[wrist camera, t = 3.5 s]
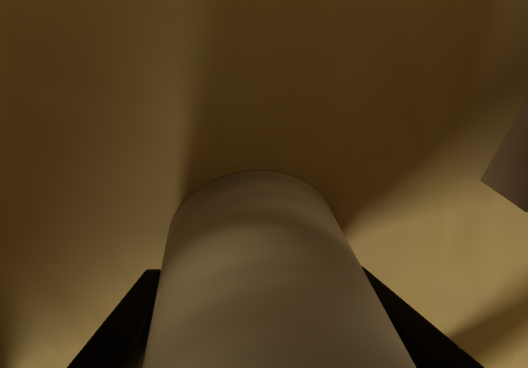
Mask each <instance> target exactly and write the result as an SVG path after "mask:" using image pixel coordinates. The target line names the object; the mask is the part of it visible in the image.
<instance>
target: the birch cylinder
mask: <svg viewBox="0 0 528 368" xmlns="http://www.w3.org/2000/svg"><path fill="white" fill-rule="evenodd" d="M142 368H416V366H415V365H414V363H413V361H412V359H411V357H410V355H409V354H408V352H407V350H406V348H405V346H404V344H403V342H402V341H401V339H400V337H399V335H398V333H397V331H396V330H395V328H394V326H393V324H392V322H391V320H390V319H389V317H388V315H387V313H386V311H385V309H384V307H383V306H382V304H381V302H380V300H379V298H378V296H377V295H376V293H375V291H374V289H373V287H372V285H371V283H370V282H369V280H368V278H367V276H366V274H365V272H364V271H363V269H362V267H361V265H360V263H359V261H358V260H357V258H356V256H355V254H354V252H353V250H352V248H351V247H350V245H349V243H348V241H347V239H346V237H345V236H344V234H343V232H342V230H341V228H340V226H339V224H338V223H337V221H336V219H335V217H334V215H333V213H332V212H331V210H330V208H329V206H328V204H327V203H326V201H325V200H324V198H323V197H322V196H321V195H320V194H319V193H318V192H317V191H316V190H315V189H314V188H313V187H312V186H310V185H309V184H307V183H306V182H304V181H302V180H300V179H298V178H296V177H293V176H290V175H287V174H283V173H279V172H273V171H246V172H238V173H234V174H230V175H226V176H224V177H221V178H218V179H216V180H213V181H212V182H210V183H208V184H206V185H204V186H202V187H201V188H199V189H198V190H196V191H195V192H194V193H193V194H191V195H190V196H189V197H188V198H187V199H186V200H185V201H184V202H183V203H182V205H181V206H180V207H179V208H178V210H177V212H176V213H175V215H174V217H173V219H172V221H171V224H170V227H169V232H168V237H167V242H166V247H165V252H164V257H163V263H162V268H161V273H160V278H159V283H158V289H157V294H156V299H155V304H154V309H153V314H152V319H151V325H150V330H149V335H148V340H147V345H146V351H145V356H144V361H143V366H142Z"/></svg>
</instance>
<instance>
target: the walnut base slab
mask: <svg viewBox="0 0 528 368" xmlns="http://www.w3.org/2000/svg"><path fill="white" fill-rule="evenodd" d="M481 181H482V182H483V183H485V184H486V185H488V186H489V187H491V188H492V189H493V190H495V191H496V192H498V193H499V194H501V195H502V196H504V197H505V198H506V199H508V200H509V201H511V202H512V203H514V204H515V205H516V206H518V207H519V208H521V209H522V210H524V211H525V212H528V98H527V99H526V101H525V103H524V105H523V106H522V108H521V110H520V112H519V113H518V115H517V117H516V119H515V121H514V122H513V124H512V126H511V128H510V129H509V131H508V133H507V135H506V136H505V138H504V140H503V142H502V143H501V145H500V147H499V149H498V150H497V152H496V154H495V156H494V157H493V159H492V161H491V163H490V164H489V166H488V168H487V170H486V171H485V173H484V175H483V177H482V178H481Z"/></svg>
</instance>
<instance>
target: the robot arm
mask: <svg viewBox="0 0 528 368" xmlns="http://www.w3.org/2000/svg"><path fill="white" fill-rule="evenodd" d="M361 267H362V266H361ZM362 269H363V271H364V272H365V274H366V276H367V278H368V280H369V282H370V283H371V285H372V287H373V289H374V291H375V293H376V295H377V296H378V298H379V300H380V302H381V304H382V306H383V307H384V309H385V311H386V313H387V315H388V317H389V319H390V320H391V322H392V324H393V326H394V328H395V330H396V331H397V333H398V335H399V337H400V339H401V341H402V342H403V344H404V346H405V348H406V350H407V352H408V354H409V355H410V357H411V359H412V361H413V363H414V365H415V366H416V368H484V367H483V366H482V365H481V364H479V363H478V362H477V361H476V360H475V359H473V358H472V357H471V356H470V355H468V354H467V353H466V352H465V351H464V350H462V349H461V348H459V347H458V345H456V344H455V343H454V342H453V341H452V340H450V339H449V338H448V337H447V336H446V335H444V334H443V333H442V332H441V331H440V330H438V329H437V328H436V327H435V326H434V325H432V324H431V323H430V322H429V321H428V320H426V319H425V318H424V317H423V316H422V315H420V314H419V313H418V312H417V311H416V310H414V309H413V308H412V307H411V306H410V305H408V304H407V303H406V302H405V301H404V300H402V299H401V298H400V297H399V296H398V295H396V294H395V293H394V292H393V291H392V290H390V289H389V288H388V287H387V286H386V285H384V284H383V283H382V282H381V281H380V280H378V279H377V278H376V277H375V276H374V275H372V274H371V273H370V272H369V271H368V270H366V269H365V268H364V267H362ZM160 273H161V270H159V269H148V270H146V271H145V272H144V273H143V274H142V275H141V277H140V278H139V279H138V280H137V282H136V283H135V284H134V285H133V287H132V288H131V289H130V290H129V292H128V293H127V294H126V295H125V296H124V298H123V299H122V300H121V301H120V303H119V304H118V305H117V306H116V308H115V309H114V310H113V311H112V313H111V314H110V315H109V316H108V317H107V319H106V320H105V321H104V322H103V324H102V325H101V326H100V327H99V329H98V330H97V331H96V332H95V334H94V335H93V336H92V337H91V338H90V340H89V341H88V342H87V343H86V345H85V346H84V347H83V348H82V350H81V351H80V352H79V353H78V355H77V356H76V357H75V358H74V359H73V361H72V362H71V363H70V364H69V366H68V367H67V368H142V366H143V361H144V356H145V351H146V345H147V340H148V335H149V330H150V325H151V319H152V314H153V309H154V304H155V299H156V294H157V289H158V283H159V278H160Z"/></svg>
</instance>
